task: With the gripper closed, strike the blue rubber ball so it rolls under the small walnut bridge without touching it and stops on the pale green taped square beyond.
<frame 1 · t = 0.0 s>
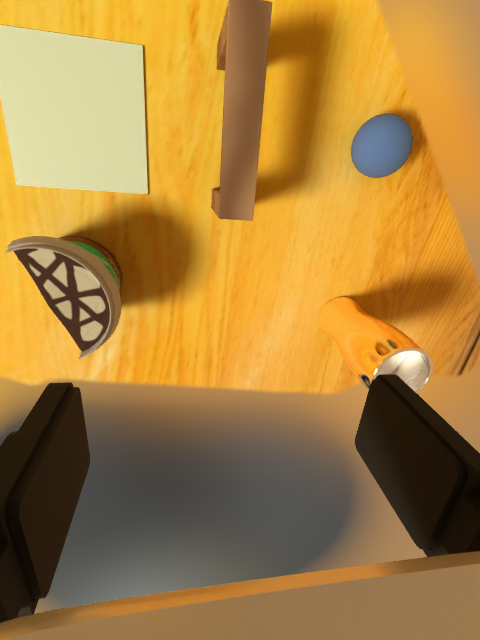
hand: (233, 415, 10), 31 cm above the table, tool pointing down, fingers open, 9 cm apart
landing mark: (77, 118, 32), on the table
ball: (380, 147, 35), on the table
food container: (102, 267, 39), on the table
metal pint tumbler: (338, 316, 46), on the table
bridge: (228, 134, 35), on the table
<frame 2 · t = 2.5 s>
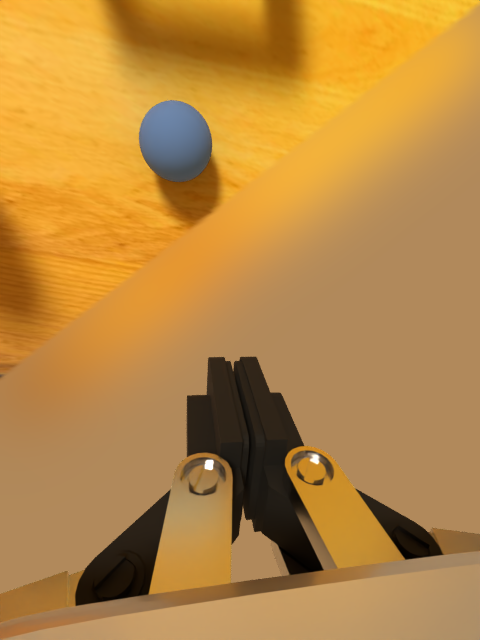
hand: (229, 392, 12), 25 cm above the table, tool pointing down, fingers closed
ball: (176, 143, 27), on the table
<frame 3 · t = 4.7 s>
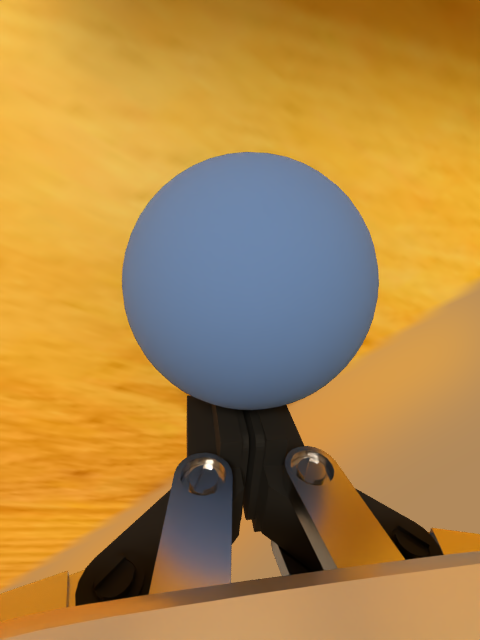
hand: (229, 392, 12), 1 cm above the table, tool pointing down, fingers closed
ball: (248, 286, 8), on the table, touching gripper
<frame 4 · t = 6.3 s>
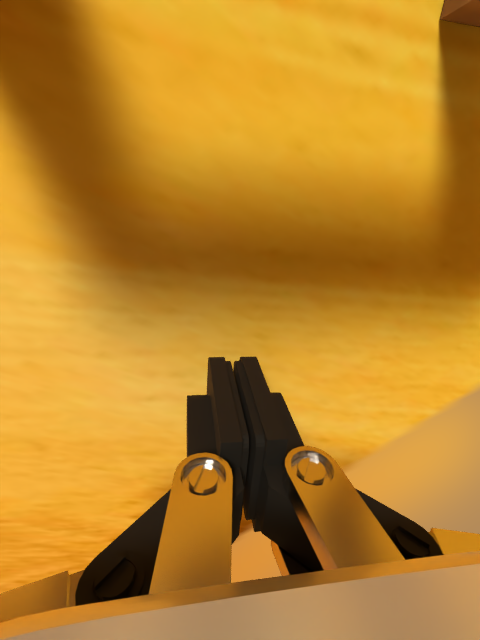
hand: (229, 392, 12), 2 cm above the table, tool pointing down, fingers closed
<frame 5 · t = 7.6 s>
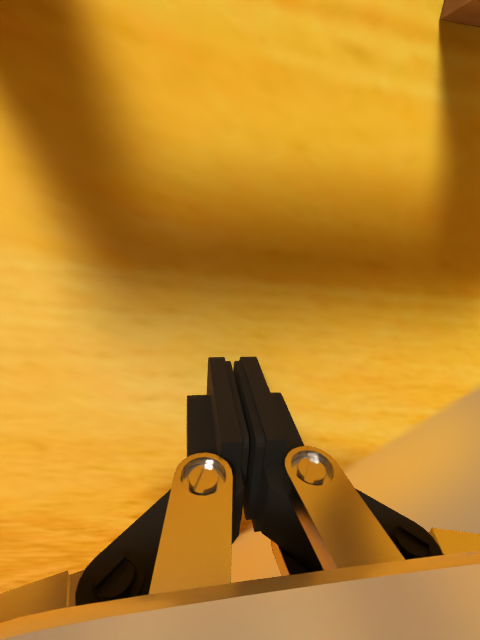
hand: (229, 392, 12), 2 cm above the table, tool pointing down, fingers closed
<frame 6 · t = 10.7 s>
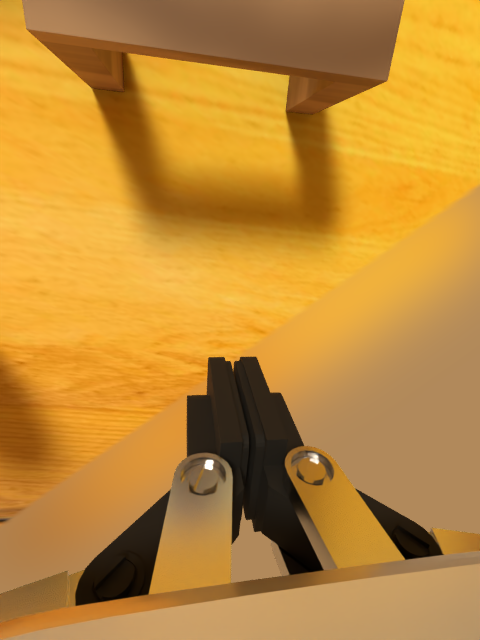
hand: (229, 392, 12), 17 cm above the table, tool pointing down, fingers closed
bridge: (209, 75, 22), on the table
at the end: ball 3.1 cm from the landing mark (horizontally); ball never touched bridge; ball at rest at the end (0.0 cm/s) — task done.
